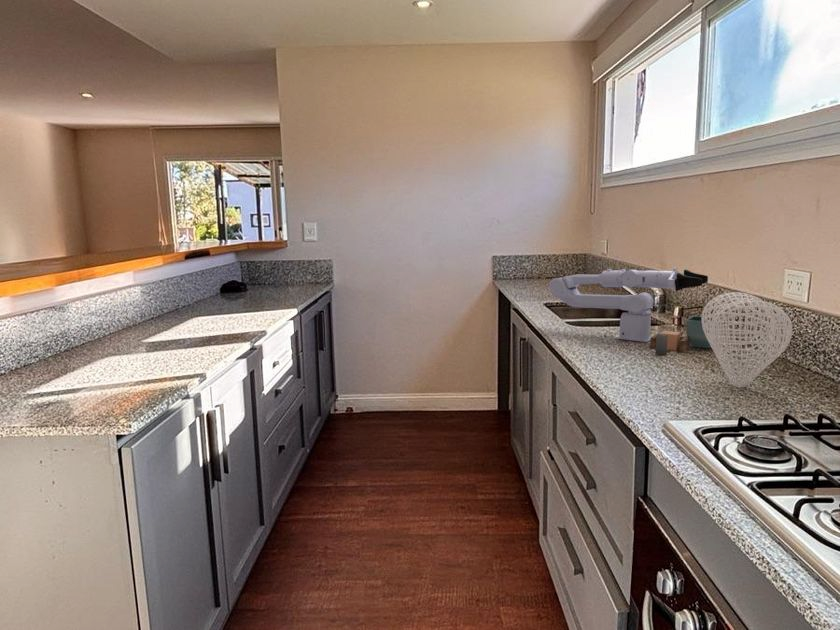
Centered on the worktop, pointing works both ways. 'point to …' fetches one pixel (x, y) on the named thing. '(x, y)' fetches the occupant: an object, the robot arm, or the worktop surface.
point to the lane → (683, 343)
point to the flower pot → (697, 332)
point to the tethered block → (667, 342)
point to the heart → (769, 335)
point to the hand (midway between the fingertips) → (704, 280)
